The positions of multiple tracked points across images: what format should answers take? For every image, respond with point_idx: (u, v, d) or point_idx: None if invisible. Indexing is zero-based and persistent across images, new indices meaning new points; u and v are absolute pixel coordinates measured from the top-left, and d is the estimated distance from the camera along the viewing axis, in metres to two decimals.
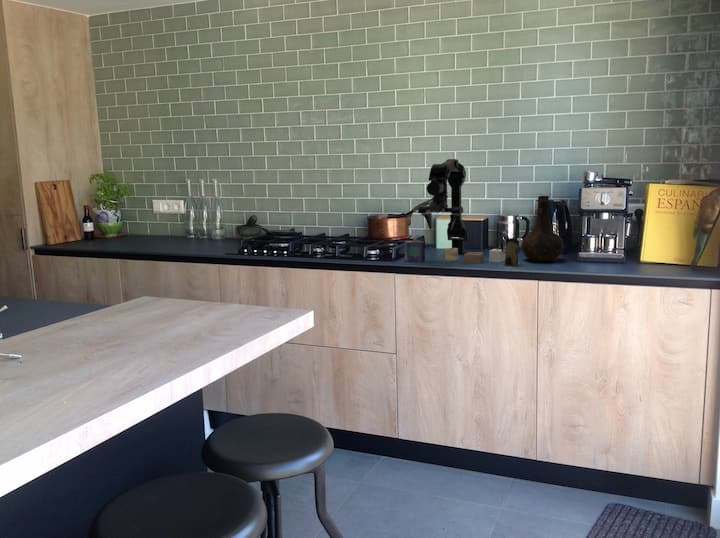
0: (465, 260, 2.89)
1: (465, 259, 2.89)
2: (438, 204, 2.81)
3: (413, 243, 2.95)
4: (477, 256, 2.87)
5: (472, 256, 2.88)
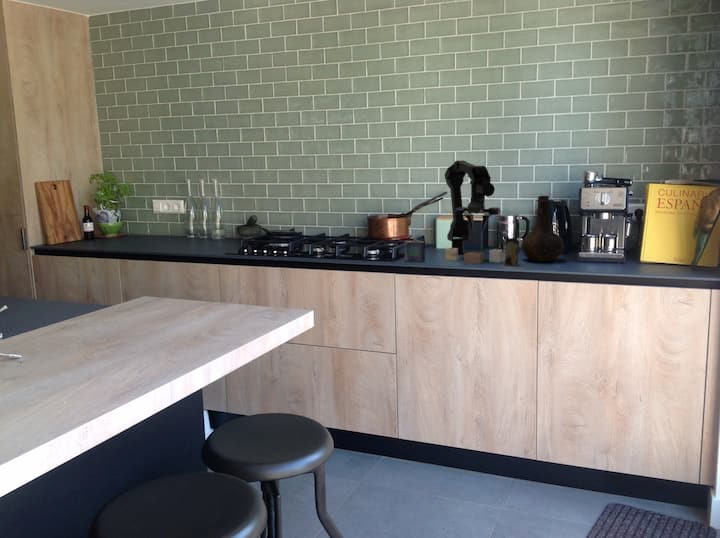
0: (465, 260, 2.89)
1: (465, 259, 2.89)
2: (476, 205, 2.85)
3: (413, 243, 2.95)
4: (477, 256, 2.87)
5: (472, 256, 2.88)
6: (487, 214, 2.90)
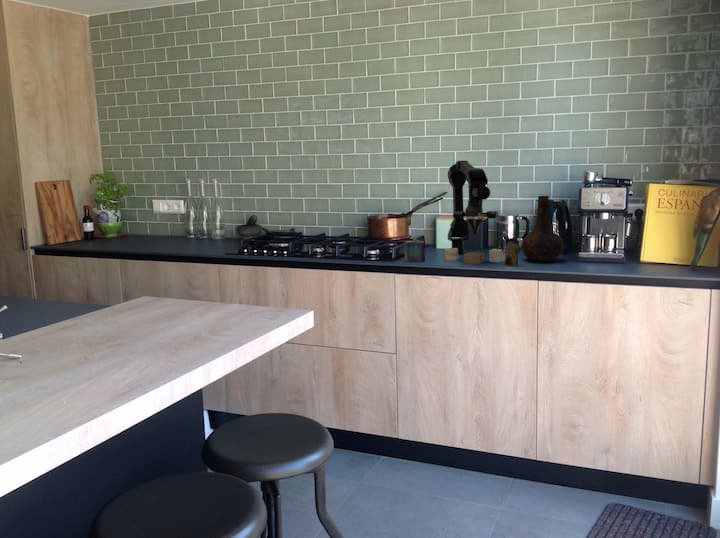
0: (464, 260, 2.90)
1: (464, 259, 2.90)
2: (474, 209, 2.82)
3: (413, 243, 2.95)
4: (476, 256, 2.87)
5: (471, 256, 2.88)
6: (480, 218, 2.87)
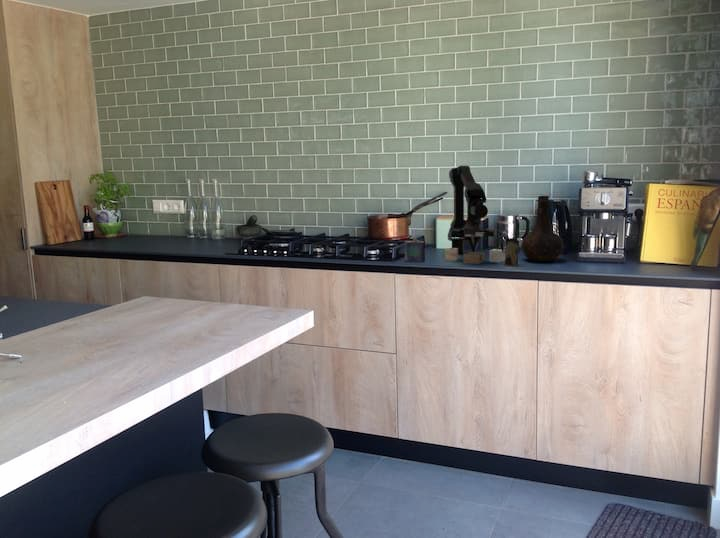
0: (464, 260, 2.90)
1: (464, 258, 2.90)
2: (472, 227, 2.82)
3: (413, 243, 2.95)
4: (476, 256, 2.87)
5: (471, 256, 2.88)
6: (478, 235, 2.87)
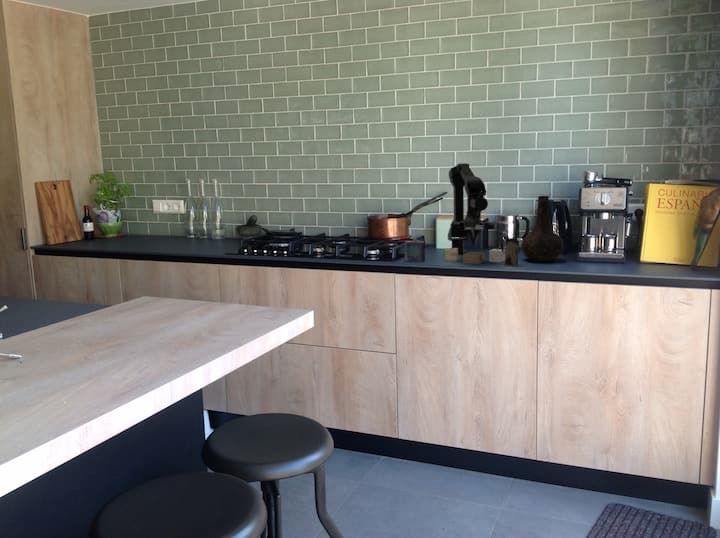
0: (464, 260, 2.90)
1: (464, 258, 2.90)
2: (472, 219, 2.81)
3: (413, 243, 2.95)
4: (475, 256, 2.87)
5: (471, 256, 2.88)
6: (478, 228, 2.87)
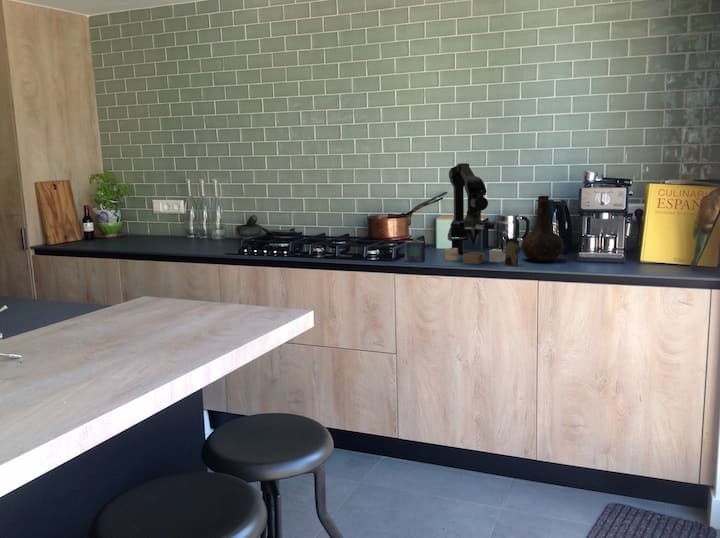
0: (464, 260, 2.90)
1: (464, 258, 2.90)
2: (473, 219, 2.81)
3: (413, 243, 2.95)
4: (475, 256, 2.87)
5: (470, 256, 2.88)
6: (479, 228, 2.86)
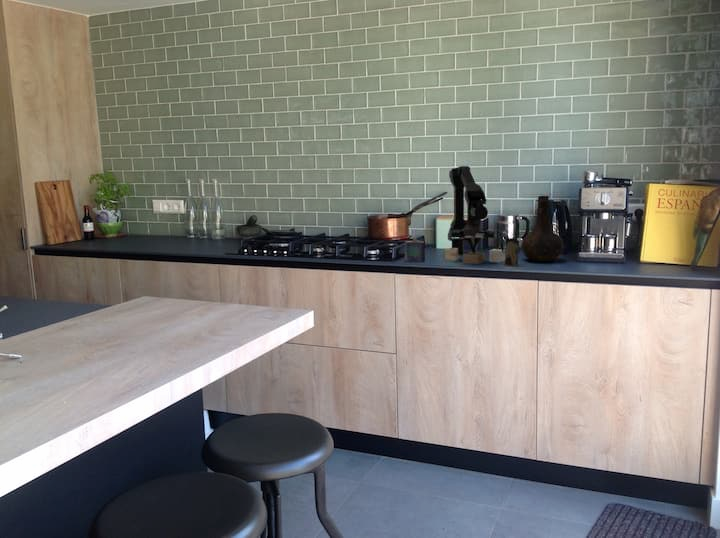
0: (464, 260, 2.90)
1: (464, 258, 2.90)
2: (472, 228, 2.82)
3: (413, 243, 2.95)
4: (474, 256, 2.87)
5: (470, 256, 2.88)
6: (478, 236, 2.87)
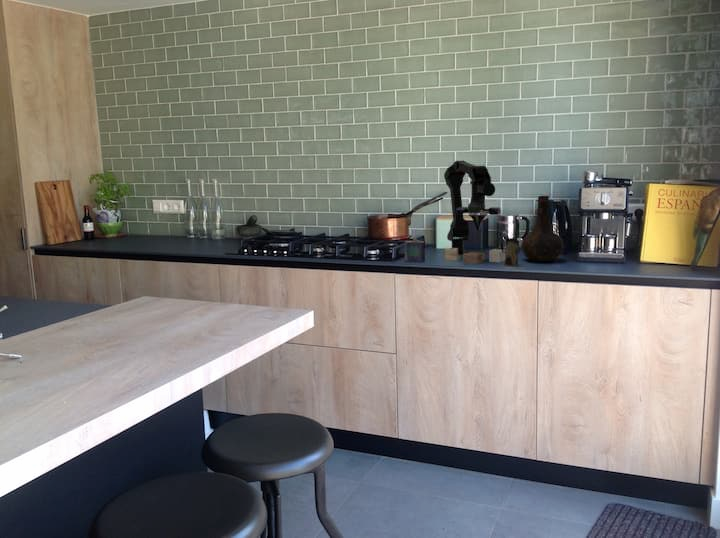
0: (463, 260, 2.91)
1: (463, 258, 2.91)
2: (477, 205, 2.86)
3: (413, 243, 2.95)
4: (474, 256, 2.87)
5: (469, 256, 2.88)
6: (483, 214, 2.91)
